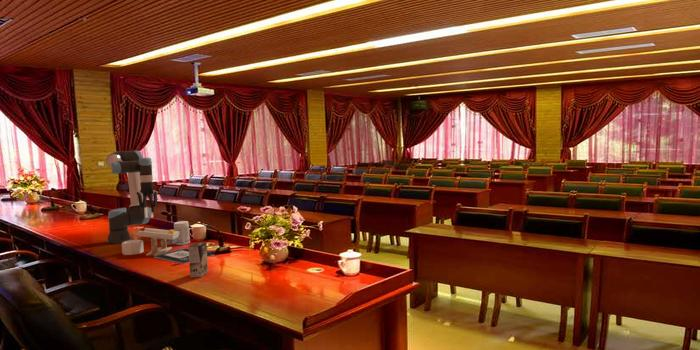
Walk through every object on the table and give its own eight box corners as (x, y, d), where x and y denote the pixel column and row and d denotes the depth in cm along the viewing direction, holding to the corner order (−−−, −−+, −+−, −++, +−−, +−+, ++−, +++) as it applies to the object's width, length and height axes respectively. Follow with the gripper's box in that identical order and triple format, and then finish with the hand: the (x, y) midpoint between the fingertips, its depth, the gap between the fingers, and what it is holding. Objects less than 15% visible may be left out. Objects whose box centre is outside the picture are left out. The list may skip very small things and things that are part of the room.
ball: (169, 234, 293) (170, 228, 293) (175, 235, 293) (176, 229, 293) (166, 235, 289) (167, 229, 289) (172, 237, 289) (173, 230, 289)
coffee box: (202, 277, 234) (200, 246, 233) (189, 277, 234) (187, 246, 233) (208, 271, 243) (206, 241, 242) (196, 272, 244) (194, 242, 242)
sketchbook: (183, 265, 261) (183, 261, 261) (153, 258, 278) (152, 255, 278) (214, 256, 279) (214, 252, 279) (183, 250, 296) (183, 247, 296)
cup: (128, 250, 298) (128, 239, 298) (146, 250, 298) (145, 239, 298) (119, 255, 287) (118, 244, 287) (137, 254, 287) (136, 243, 286)
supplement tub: (187, 241, 321) (185, 220, 319) (192, 243, 313) (190, 222, 312) (173, 243, 314) (171, 222, 313) (177, 246, 307) (176, 224, 306)
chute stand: (172, 248, 300) (171, 232, 300) (160, 255, 283) (159, 238, 283) (158, 248, 301) (157, 232, 300) (146, 255, 284) (145, 238, 283)
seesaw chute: (183, 238, 304) (184, 228, 304) (171, 244, 286) (172, 234, 285) (149, 234, 305) (150, 224, 304) (136, 240, 286) (136, 230, 286)
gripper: (131, 182, 295) (134, 218, 297) (156, 181, 295) (158, 218, 297) (137, 181, 303) (139, 216, 305) (161, 180, 302) (163, 216, 304)
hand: (149, 217), depth 301 cm, fingers open, 3 cm apart
